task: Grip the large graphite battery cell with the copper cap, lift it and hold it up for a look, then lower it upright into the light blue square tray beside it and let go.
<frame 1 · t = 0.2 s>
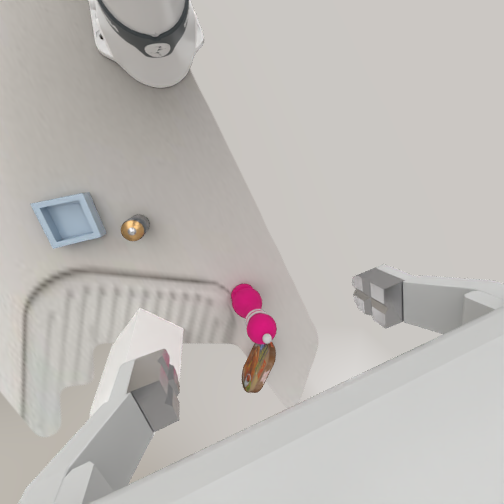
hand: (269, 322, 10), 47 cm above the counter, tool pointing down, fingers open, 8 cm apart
cell: (139, 224, 51), on the counter
tin: (253, 354, 69), on the counter
milk: (149, 336, 58), on the counter
pepper mill: (242, 294, 62), on the counter
light blue square tray: (75, 218, 47), on the counter
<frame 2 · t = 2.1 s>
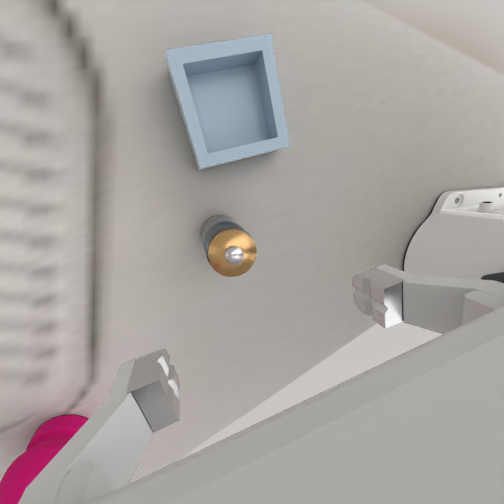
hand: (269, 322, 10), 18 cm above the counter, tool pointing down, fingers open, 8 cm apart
cell: (219, 233, 26), on the counter
pepper mill: (67, 433, 28), on the counter
light blue square tray: (227, 114, 23), on the counter
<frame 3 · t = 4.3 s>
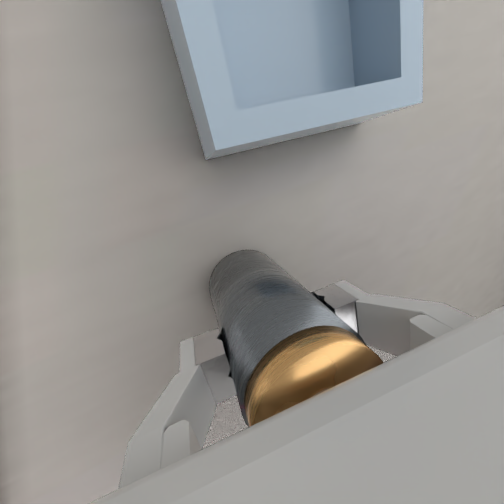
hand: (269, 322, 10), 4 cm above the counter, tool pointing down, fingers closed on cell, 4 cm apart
cell: (245, 284, 13), on the counter, touching gripper
light blue square tray: (271, 36, 10), on the counter
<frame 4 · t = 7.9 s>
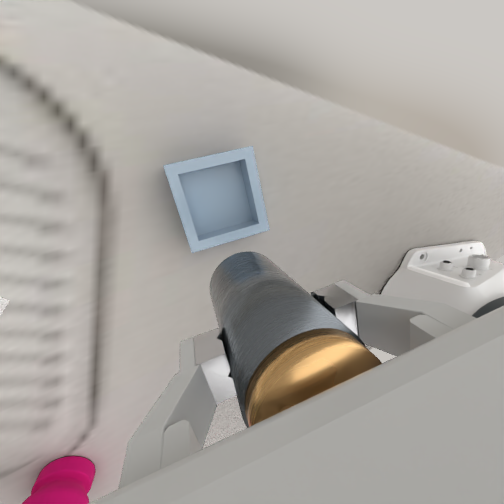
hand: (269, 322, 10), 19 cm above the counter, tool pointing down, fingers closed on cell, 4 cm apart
cell: (245, 285, 13), point 15 cm above the counter, touching gripper
pepper mill: (68, 472, 31), on the counter
light blue square tray: (216, 198, 26), on the counter
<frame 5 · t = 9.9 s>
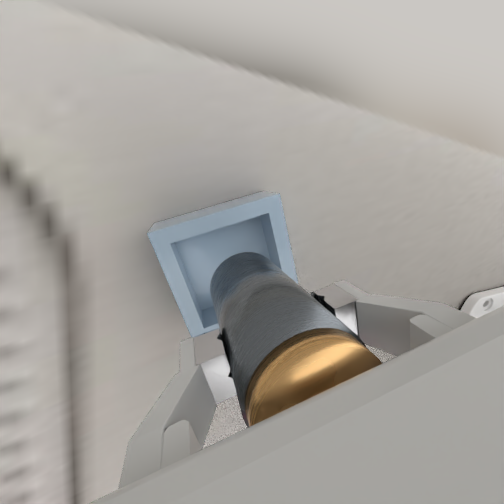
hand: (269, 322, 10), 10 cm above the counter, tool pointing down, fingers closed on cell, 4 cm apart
cell: (245, 286, 13), point 6 cm above the counter, touching gripper
light blue square tray: (226, 257, 19), on the counter
when the fingers open (6 cm above the counter, at t = 11.4 s): cell drops 1 cm, resting on light blue square tray.
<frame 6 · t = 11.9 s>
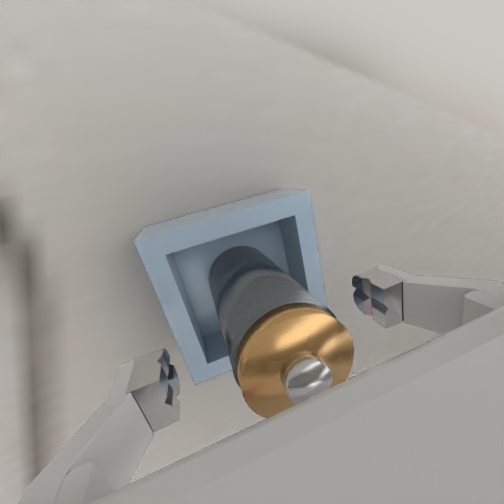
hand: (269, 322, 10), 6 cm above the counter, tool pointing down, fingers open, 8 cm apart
cell: (241, 276, 15), point 1 cm above the counter, touching light blue square tray
light blue square tray: (235, 269, 16), on the counter
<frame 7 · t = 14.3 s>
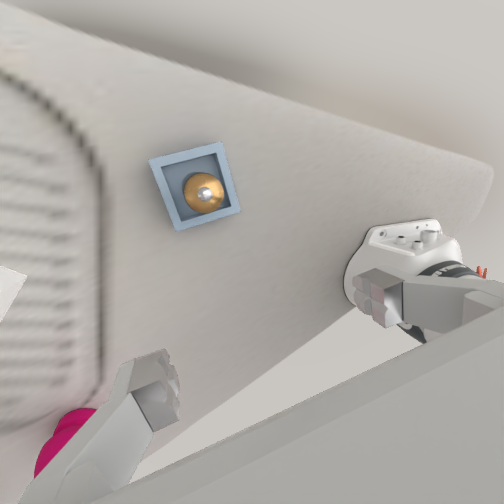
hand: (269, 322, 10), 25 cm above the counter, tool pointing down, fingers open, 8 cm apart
cell: (197, 188, 30), point 1 cm above the counter, touching light blue square tray
pepper mill: (83, 422, 37), on the counter
light blue square tray: (196, 186, 31), on the counter
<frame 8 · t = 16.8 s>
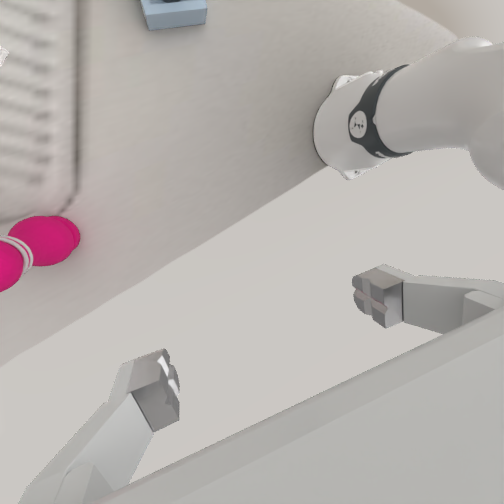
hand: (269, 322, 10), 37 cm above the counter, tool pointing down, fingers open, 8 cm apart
pepper mill: (58, 234, 39), on the counter
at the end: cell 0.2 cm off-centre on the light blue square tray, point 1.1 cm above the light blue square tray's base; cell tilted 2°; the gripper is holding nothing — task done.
